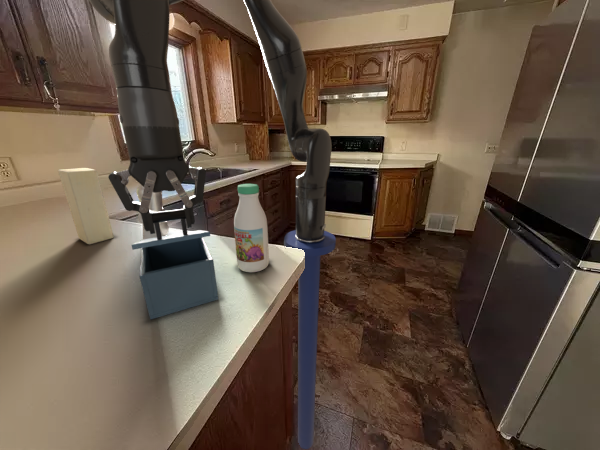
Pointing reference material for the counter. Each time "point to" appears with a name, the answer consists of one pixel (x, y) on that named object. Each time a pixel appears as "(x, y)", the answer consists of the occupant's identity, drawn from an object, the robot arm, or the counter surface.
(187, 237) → the freezer lid
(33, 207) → the counter surface
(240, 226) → the milk bottle
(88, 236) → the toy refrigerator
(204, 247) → the box
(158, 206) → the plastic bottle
